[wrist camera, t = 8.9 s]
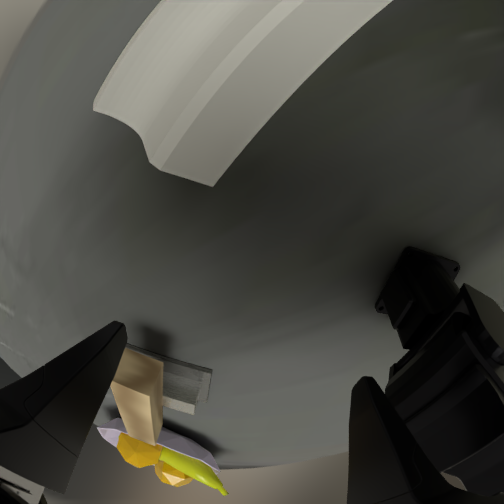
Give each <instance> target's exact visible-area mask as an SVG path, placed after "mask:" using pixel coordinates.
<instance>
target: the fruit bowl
mask: <svg viewBox="0 0 504 504" xmlns="http://www.w3.org/2000/svg"><path fill="white" fill-rule="evenodd" d="M97 429H98V430H99V432H100V434H101V435H102V437H103V438H104V439H105V440H107V441H108V442H110V443H111V444H112V445H114V446H116V447H117V448H118V450H119V452H120V453H121V455H122V456H123V458H124V459H125V461H126V462H128V463H130V464H132V465H133V466H135V467H137V468H140V467H145V466H149V465H154V466H155V472H156V474H157V475H158V477H159V478H160V480H161V481H162V482H164V483H166V484H170V485H172V486H175V487H179V486H182V485H185V484H188V483H190V482H191V481H192V480H193V478H194V479H196V480H198V481H200V482H202V483H204V484H206V485H208V486H210V487H212V488H214V489H218V490H219V491H220V492H221V493H222V494H223V495H224V496H226V495H228V492H227V491H226V490H225V489H224V488H223V487H222V486H223V484H222V483H221V481H220V480H219V479H218V477H217V476H216V474H218V473H220V470H219V468H218V466H217V464H216V462H215V460H214V458H213V456H212V454H211V453H210V452H209V451H207V450H206V449H205V448H203V447H202V446H200V445H199V444H197V443H196V442H195V441H193V440H192V439H190V438H187V437H185V436H182V435H180V434H178V433H175V432H173V431H171V430H168V429H166V428H164V427H162V428H161V430H160V433H159V436H158V439H157V442H156V445H155V446H154V445H151V444H148V443H145V442H143V441H140V440H138V439H135V438H133V437H130V436H129V435H128V432H127V430H126V427H125V425H124V422H123V420H122V418H115V419H113V420H111V421H109V422H107V423H105V424H103V425H101V426H99V427H97Z"/></svg>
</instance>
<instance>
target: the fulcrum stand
mask: <svg viewBox="0 0 504 504" xmlns="http://www.w3.org/2000/svg"><path fill="white" fill-rule="evenodd" d="M125 348H128V349H130V350H132V351H135V352H137V353H140V354H142V355H145V356H148V357H150V358H153V359H156V360H158V361H161V362H163V406H166V407H169V408H172V409H176V410H179V411H182V412H186V413H190V414H193V415H194V413H195V410H196V406H197V403H198V401H201V402H205V403H207V398H208V392H209V386H210V380H211V374H212V370H211V369H207V368H203V367H199V366H196V365H192V364H189V363H185V362H182V361H178V360H175V359H171V358H168V357H165V356H162V355H159V354H156V353H153V352H150V351H147V350H144V349H141V348H138V347H135V346H132V345H130V344H126V347H125Z"/></svg>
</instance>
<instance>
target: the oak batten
mask: <svg viewBox="0 0 504 504" xmlns="http://www.w3.org/2000/svg"><path fill="white" fill-rule="evenodd" d="M110 386H111V389H112V392H113V395H114V398H115V401H116V404H117V406H118V409H119V412H120V415H121V417H122V420H123V422H124V425H125V427H126V430H127V432H128V435H129V436H130V437H133V438H135V439H138V440H140V441H143V442H145V443H148V444H151V445H154V446H155V445H156V442H157V439H158V436H159V433H160V430H161V428H162V425H163V362H161V361H158V360H156V359H153V358H150V357H148V356H145V355H142V354H140V353H137V352H135V351H132V350H130V349H128V348H125V349H124V352H123V355H122V357H121V360H120V363H119V366H118V369H117V371H116V374H115V377H114V379H113V381H112V383H111V385H110Z"/></svg>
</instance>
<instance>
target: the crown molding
mask: <svg viewBox="0 0 504 504" xmlns="http://www.w3.org/2000/svg"><path fill="white" fill-rule="evenodd" d="M391 1H393V0H161V2H160V3H159V4H158V5H157V6H156V7H155V9H154V10H153V11H152V12H151V13H150V15H149V16H148V17H147V18H146V20H145V21H144V22H143V24H142V25H141V26H140V27H139V29H138V30H137V32H136V33H135V34H134V36H133V37H132V38H131V40H130V41H129V43H128V44H127V46H126V47H125V49H124V50H123V52H122V53H121V55H120V56H119V58H118V59H117V61H116V63H115V64H114V66H113V67H112V69H111V71H110V72H109V74H108V76H107V78H106V79H105V81H104V83H103V85H102V86H101V88H100V90H99V92H98V94H97V96H96V98H95V100H94V103H93V111H97V112H100V113H103V114H106V115H109V116H111V117H113V118H116V119H118V120H120V121H122V122H124V123H125V124H127V125H129V126H130V127H131V128H133V129H134V130H135V131H136V132H137V133H138V134H139V136H140V137H141V139H142V141H143V144H144V147H145V150H146V153H147V156H148V159H149V162H150V163H151V164H152V165H154V166H155V167H156V168H158V169H159V170H160V171H164V172H167V173H170V174H173V175H177V176H180V177H183V178H186V179H189V180H192V181H196V182H199V183H202V184H205V185H208V186H211V187H213V186H214V185H215V184H216V182H217V181H218V180H219V178H220V177H221V176H222V175H223V173H224V172H225V171H226V170H227V168H228V167H229V166H230V165H231V164H232V162H233V161H234V160H235V159H236V157H237V156H238V155H239V154H240V153H241V151H242V150H243V149H244V148H245V147H246V145H247V144H248V143H249V142H250V141H251V140H252V138H253V137H254V136H255V135H256V134H257V133H258V131H259V130H260V129H261V128H262V127H263V126H264V125H265V123H266V122H267V121H268V120H269V119H270V118H271V117H272V116H273V114H274V113H275V112H276V111H277V110H278V109H279V108H280V107H281V106H282V105H283V103H284V102H285V101H286V100H287V99H288V98H289V97H290V96H291V95H292V94H293V93H294V92H295V91H296V90H297V88H298V87H299V86H300V85H301V84H302V83H303V82H304V81H305V80H306V79H307V78H308V77H309V76H310V75H311V74H312V73H313V72H314V71H315V70H316V69H317V68H318V67H319V66H320V65H321V64H322V63H323V62H324V61H325V60H326V59H327V58H328V57H329V56H330V55H331V54H332V53H333V52H334V51H335V50H336V49H338V48H339V47H340V46H341V45H342V44H343V43H344V42H345V41H346V40H347V39H348V38H349V37H350V36H352V35H353V34H354V33H355V32H356V31H357V30H358V29H359V28H360V27H362V26H363V25H364V24H365V23H366V22H367V21H369V20H370V19H371V18H372V17H373V16H374V15H376V14H377V13H378V12H379V11H380V10H382V9H383V8H384V7H385V6H386V5H388V4H389V3H390V2H391Z"/></svg>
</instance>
